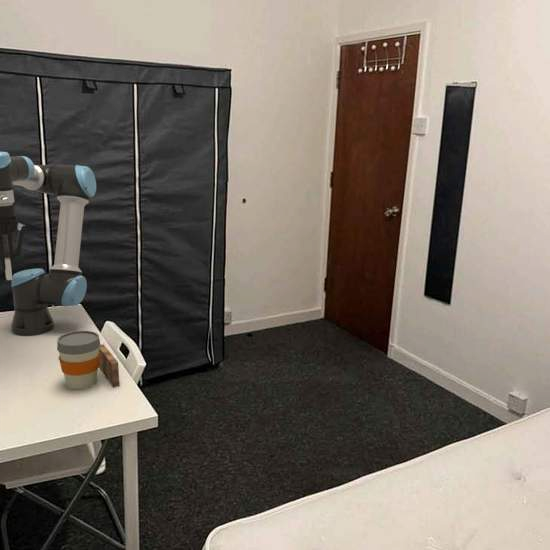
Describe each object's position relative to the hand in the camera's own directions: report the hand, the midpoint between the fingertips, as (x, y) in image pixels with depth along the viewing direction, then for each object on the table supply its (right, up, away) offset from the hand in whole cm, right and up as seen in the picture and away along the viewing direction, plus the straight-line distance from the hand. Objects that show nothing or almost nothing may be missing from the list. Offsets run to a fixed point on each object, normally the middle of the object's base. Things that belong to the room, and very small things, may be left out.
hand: (9, 278), depth 172 cm
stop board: (+30, -31, +4) cm, 44 cm away
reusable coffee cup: (+23, -33, -1) cm, 40 cm away
